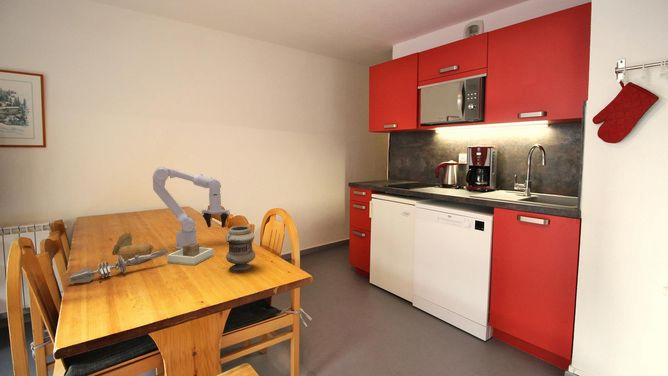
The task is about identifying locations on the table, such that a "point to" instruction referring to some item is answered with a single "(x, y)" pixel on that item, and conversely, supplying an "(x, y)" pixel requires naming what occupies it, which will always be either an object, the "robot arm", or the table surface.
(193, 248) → the walnut block
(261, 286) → the table surface
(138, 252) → the potato
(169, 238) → the table surface
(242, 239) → the apothecary jar
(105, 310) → the table surface
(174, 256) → the sage tray
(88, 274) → the spaceship
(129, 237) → the rock
